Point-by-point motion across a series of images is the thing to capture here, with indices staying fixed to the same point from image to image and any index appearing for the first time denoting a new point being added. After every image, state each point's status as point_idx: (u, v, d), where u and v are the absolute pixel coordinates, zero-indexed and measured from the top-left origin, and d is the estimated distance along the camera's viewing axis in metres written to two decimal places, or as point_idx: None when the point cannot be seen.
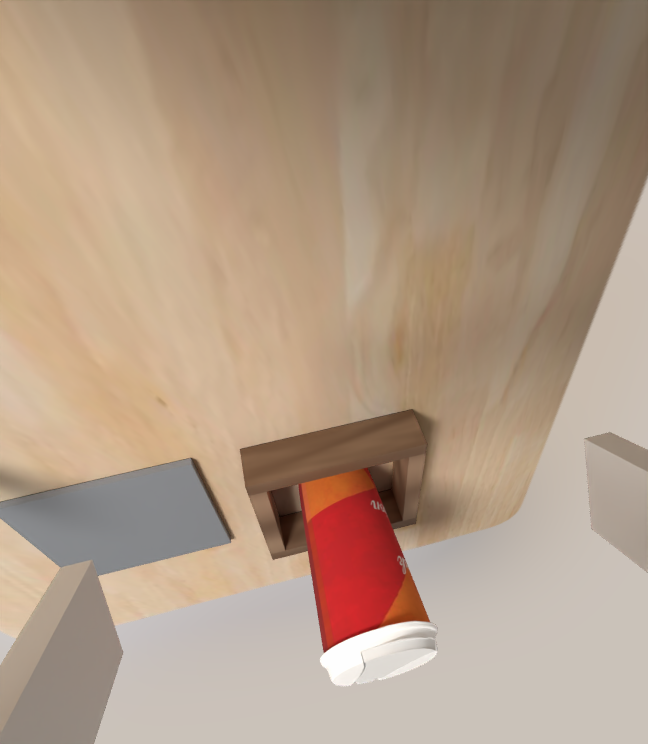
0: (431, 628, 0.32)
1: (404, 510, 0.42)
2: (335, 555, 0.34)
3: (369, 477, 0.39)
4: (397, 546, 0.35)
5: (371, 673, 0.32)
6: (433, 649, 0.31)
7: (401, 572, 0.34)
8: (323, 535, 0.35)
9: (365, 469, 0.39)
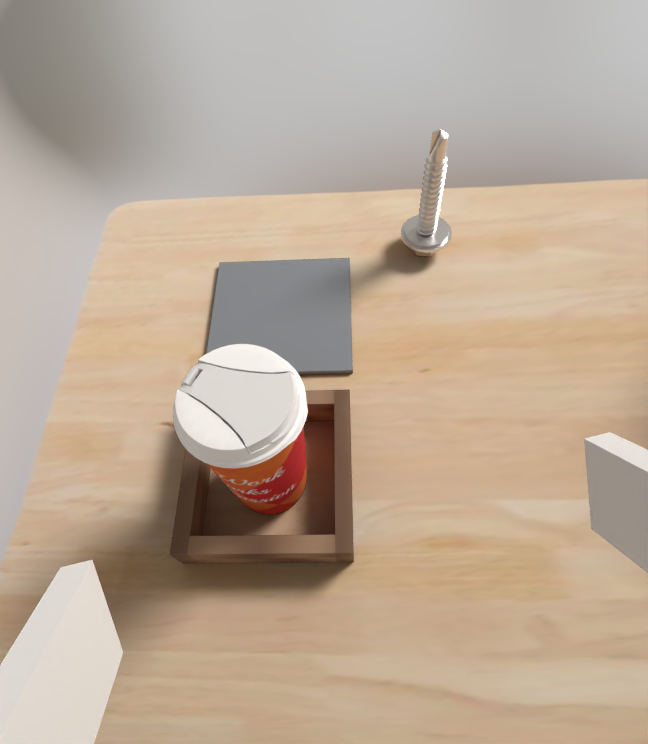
0: (265, 455, 0.28)
1: (216, 536, 0.36)
2: None
3: (285, 503, 0.38)
4: (275, 482, 0.33)
5: (229, 379, 0.29)
6: (253, 444, 0.27)
7: (285, 464, 0.31)
8: None
9: (288, 505, 0.38)
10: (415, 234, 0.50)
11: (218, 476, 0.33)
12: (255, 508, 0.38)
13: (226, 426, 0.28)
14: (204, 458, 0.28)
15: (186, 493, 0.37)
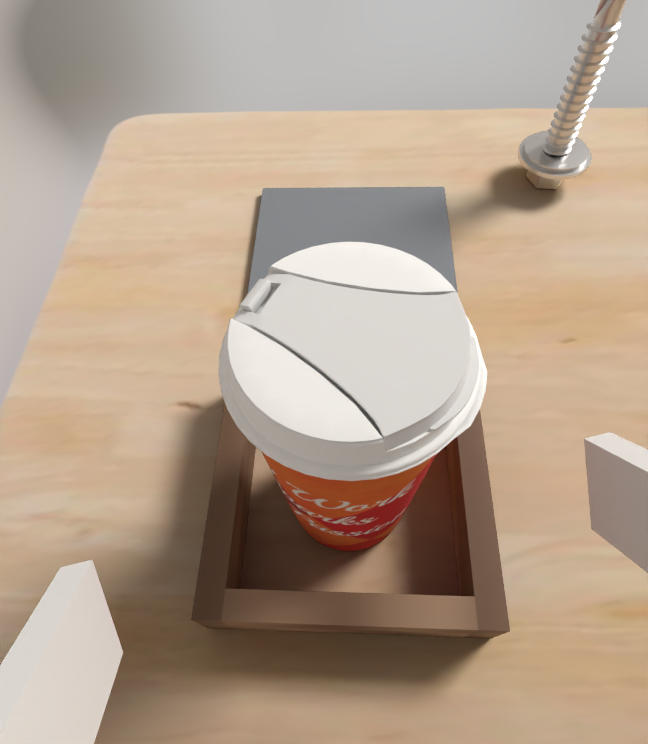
0: (414, 455, 0.13)
1: (270, 591, 0.21)
2: None
3: (380, 537, 0.23)
4: (390, 506, 0.18)
5: (334, 303, 0.15)
6: (398, 430, 0.13)
7: (420, 475, 0.17)
8: None
9: (381, 538, 0.24)
10: (541, 154, 0.36)
11: (286, 491, 0.19)
12: (330, 542, 0.23)
13: (336, 392, 0.13)
14: (286, 457, 0.13)
15: (220, 514, 0.23)
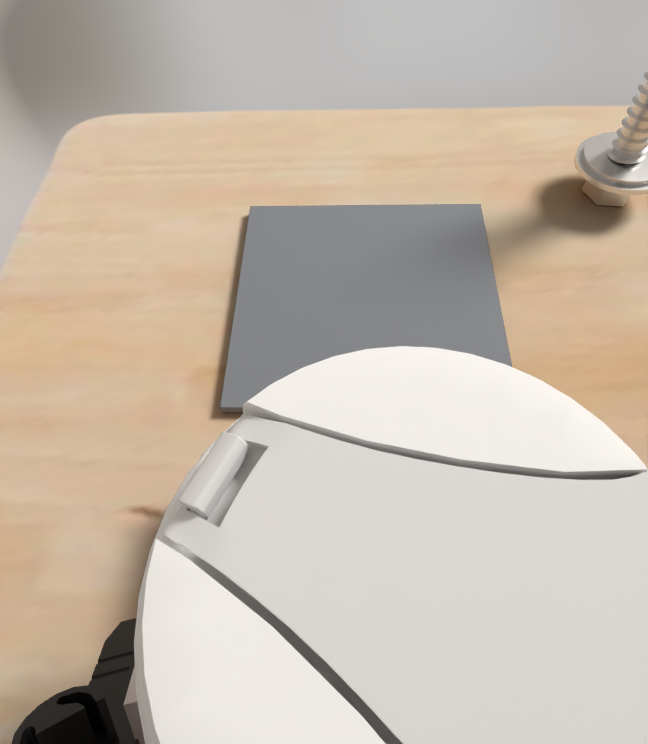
0: None
1: None
2: None
3: None
4: None
5: (385, 500, 0.07)
6: None
7: None
8: None
9: None
10: (607, 162, 0.28)
11: None
12: None
13: None
14: None
15: None
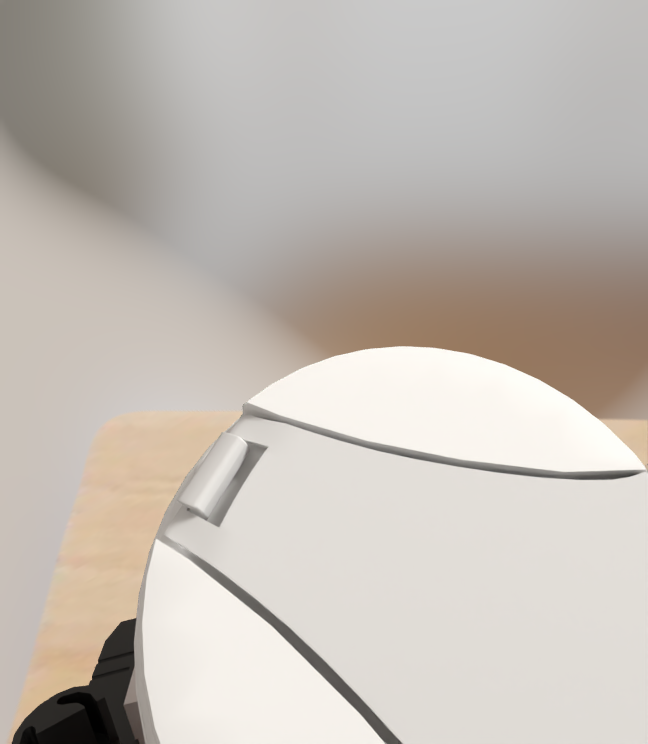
0: None
1: None
2: None
3: None
4: None
5: (384, 500, 0.07)
6: None
7: None
8: None
9: None
10: None
11: None
12: None
13: None
14: None
15: None
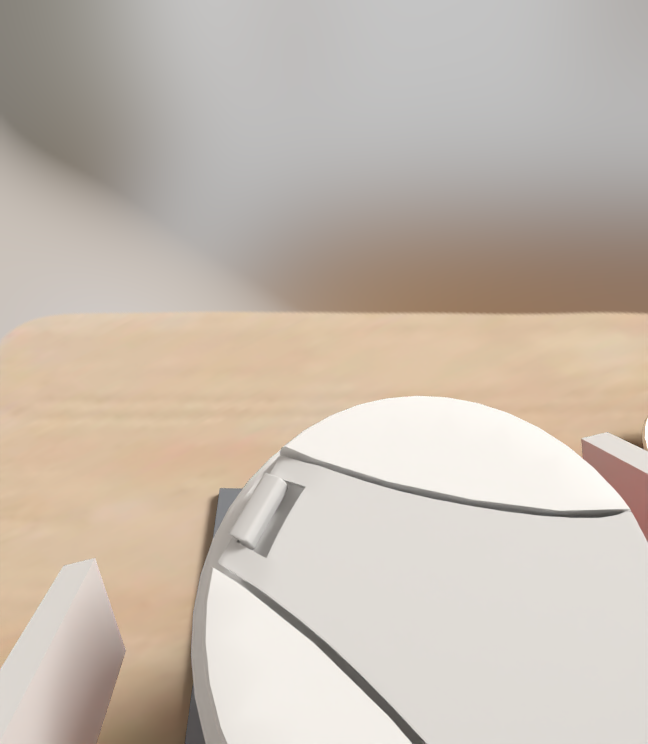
0: None
1: None
2: None
3: None
4: None
5: (406, 535, 0.08)
6: None
7: None
8: None
9: None
10: None
11: None
12: None
13: None
14: None
15: None
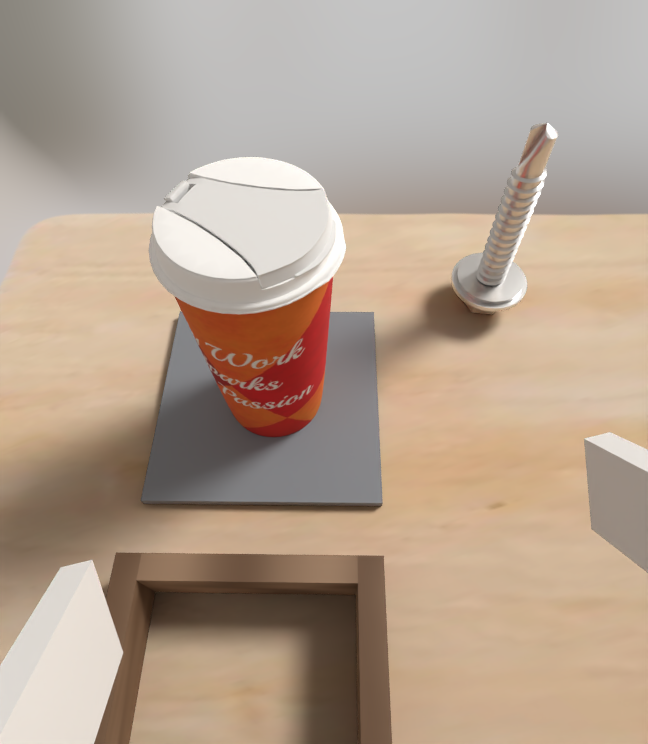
0: (284, 296, 0.19)
1: None
2: None
3: (296, 419, 0.28)
4: (289, 370, 0.24)
5: (233, 196, 0.20)
6: (268, 272, 0.18)
7: (306, 336, 0.22)
8: None
9: (298, 423, 0.29)
10: (474, 282, 0.34)
11: (209, 360, 0.24)
12: (255, 424, 0.28)
13: (228, 250, 0.19)
14: (193, 298, 0.19)
15: None
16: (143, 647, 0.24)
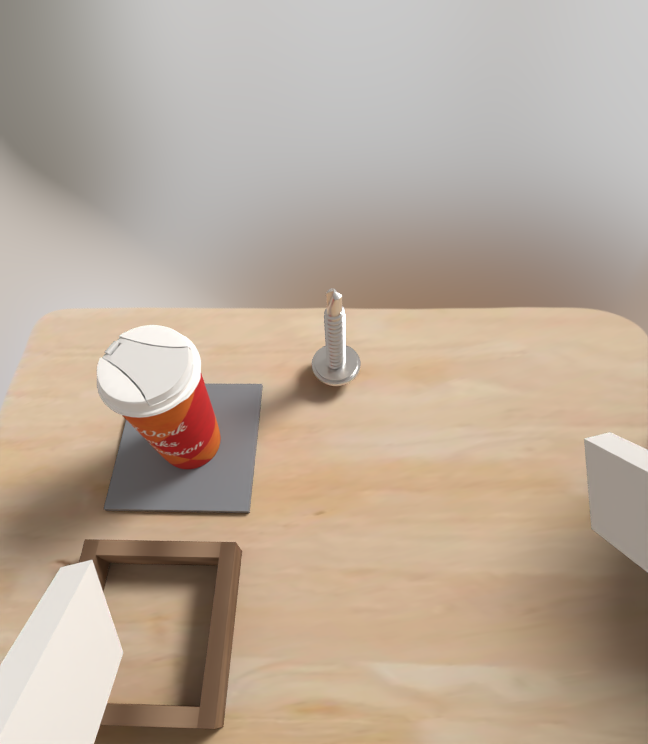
0: (162, 408, 0.37)
1: None
2: None
3: (198, 459, 0.47)
4: (181, 436, 0.42)
5: (140, 351, 0.38)
6: (151, 398, 0.36)
7: (185, 420, 0.40)
8: None
9: (201, 461, 0.47)
10: (324, 366, 0.51)
11: None
12: (173, 462, 0.47)
13: (133, 385, 0.37)
14: (116, 409, 0.37)
15: None
16: None
